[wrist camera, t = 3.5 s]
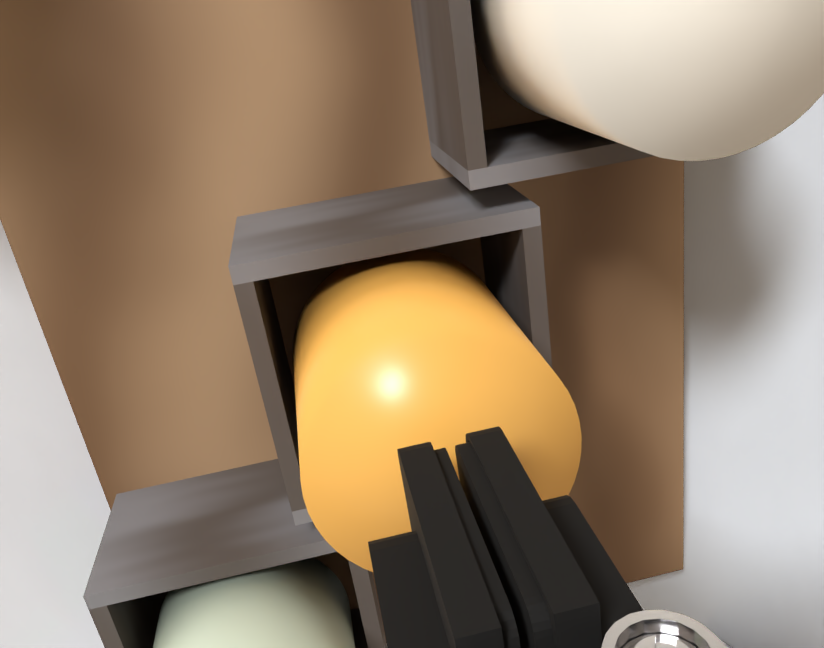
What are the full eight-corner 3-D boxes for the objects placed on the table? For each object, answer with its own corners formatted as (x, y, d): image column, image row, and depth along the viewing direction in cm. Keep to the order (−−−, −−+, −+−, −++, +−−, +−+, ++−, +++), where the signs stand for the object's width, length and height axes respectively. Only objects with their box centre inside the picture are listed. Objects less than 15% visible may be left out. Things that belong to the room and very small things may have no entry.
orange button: (491, 228, 17) (573, 306, 12) (511, 417, 19) (588, 545, 14) (271, 270, 16) (271, 369, 12) (316, 460, 18) (330, 608, 14)
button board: (658, -235, 17) (803, -330, 13) (666, 546, 26) (752, 661, 22) (-109, -134, 16) (-276, -199, 11) (184, 663, 25) (163, 816, 20)
